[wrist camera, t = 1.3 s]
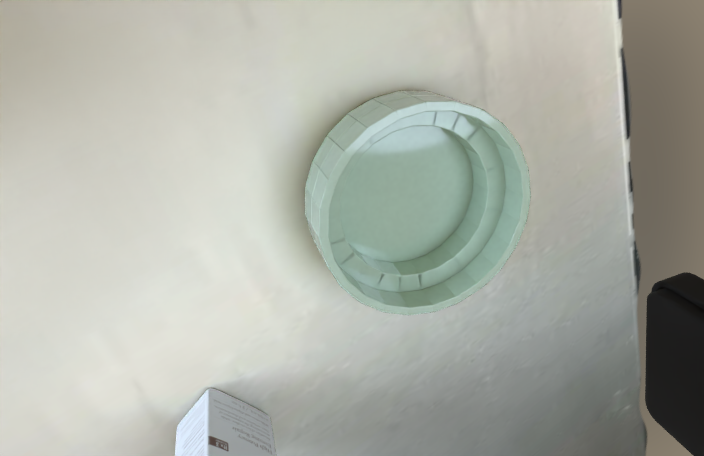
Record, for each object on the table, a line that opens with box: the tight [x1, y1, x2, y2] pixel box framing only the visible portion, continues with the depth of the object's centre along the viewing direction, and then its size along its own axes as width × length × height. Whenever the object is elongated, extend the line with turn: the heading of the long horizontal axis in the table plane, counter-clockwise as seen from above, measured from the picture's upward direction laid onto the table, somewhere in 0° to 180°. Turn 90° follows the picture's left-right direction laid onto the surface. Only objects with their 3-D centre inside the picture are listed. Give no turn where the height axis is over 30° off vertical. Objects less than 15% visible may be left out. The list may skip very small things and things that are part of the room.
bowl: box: [305, 90, 531, 315], centre depth 36 cm, size 14×14×5 cm
